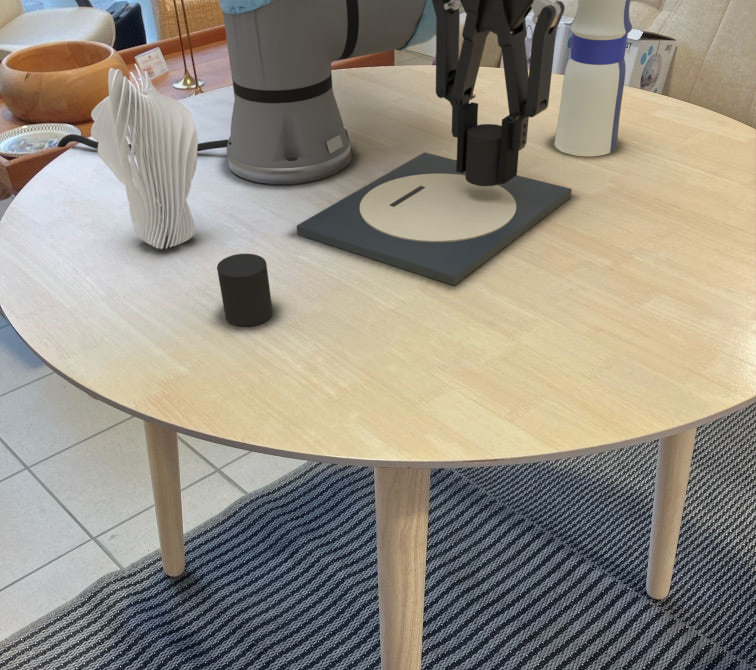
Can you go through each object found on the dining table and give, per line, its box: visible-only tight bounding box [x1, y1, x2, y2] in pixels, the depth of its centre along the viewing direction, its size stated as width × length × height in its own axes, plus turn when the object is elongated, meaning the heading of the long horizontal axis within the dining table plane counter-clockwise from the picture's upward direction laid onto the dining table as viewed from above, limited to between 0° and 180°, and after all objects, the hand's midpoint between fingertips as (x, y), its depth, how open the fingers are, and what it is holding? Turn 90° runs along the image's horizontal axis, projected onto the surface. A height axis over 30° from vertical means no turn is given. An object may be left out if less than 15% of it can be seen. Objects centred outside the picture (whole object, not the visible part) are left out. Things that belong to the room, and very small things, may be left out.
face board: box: [296, 151, 573, 286], centre depth 93 cm, size 20×24×1 cm
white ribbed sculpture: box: [90, 63, 199, 250], centre depth 85 cm, size 8×8×18 cm
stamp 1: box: [216, 253, 273, 327], centre depth 78 cm, size 4×4×5 cm
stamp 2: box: [465, 123, 502, 186], centre depth 92 cm, size 4×4×5 cm
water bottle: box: [553, 0, 633, 157], centre depth 99 cm, size 8×9×25 cm
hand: (486, 173), depth 93 cm, fingers open, 5 cm apart
